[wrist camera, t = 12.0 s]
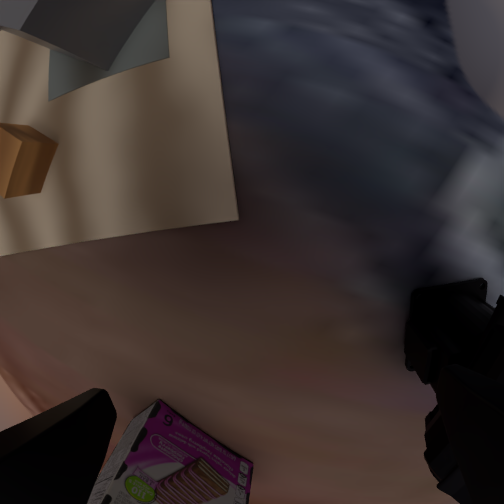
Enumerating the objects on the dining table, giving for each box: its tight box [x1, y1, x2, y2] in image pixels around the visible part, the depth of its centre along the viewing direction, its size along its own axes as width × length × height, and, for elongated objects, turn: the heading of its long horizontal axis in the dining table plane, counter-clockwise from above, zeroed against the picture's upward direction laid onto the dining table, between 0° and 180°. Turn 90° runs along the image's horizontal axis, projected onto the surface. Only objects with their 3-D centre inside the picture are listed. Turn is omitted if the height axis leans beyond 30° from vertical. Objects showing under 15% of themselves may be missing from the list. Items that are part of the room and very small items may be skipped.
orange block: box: [0, 123, 59, 199], centre depth 17 cm, size 4×4×4 cm
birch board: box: [0, 0, 239, 256], centre depth 18 cm, size 22×22×1 cm
